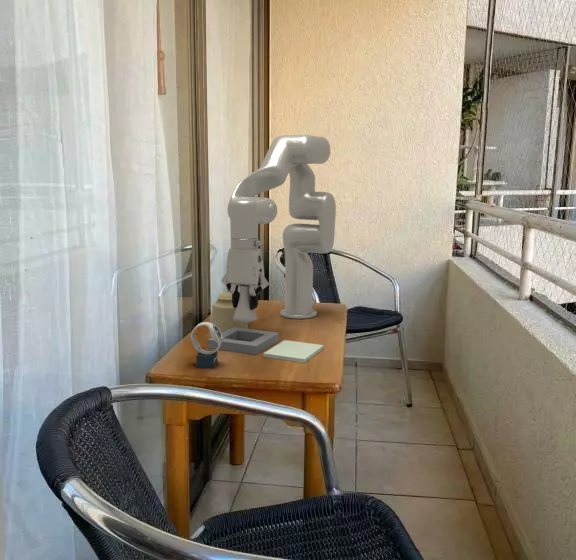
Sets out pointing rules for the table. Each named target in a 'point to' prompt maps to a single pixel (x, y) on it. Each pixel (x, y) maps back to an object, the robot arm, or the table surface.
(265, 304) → the table surface
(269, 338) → the frame
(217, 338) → the watch
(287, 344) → the sage mat
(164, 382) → the table surface
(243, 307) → the flask
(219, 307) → the sugar bowl
